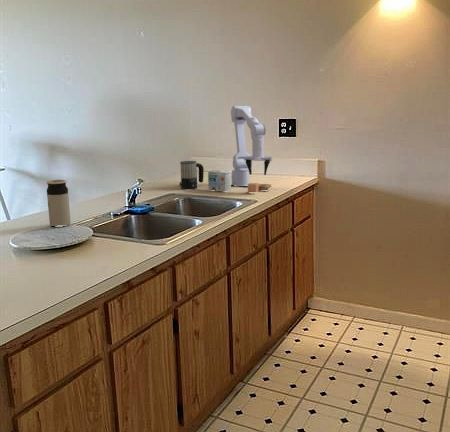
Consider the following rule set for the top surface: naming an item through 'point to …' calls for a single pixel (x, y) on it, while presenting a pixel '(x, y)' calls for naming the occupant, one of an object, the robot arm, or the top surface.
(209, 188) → the light bulb box
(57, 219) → the travel mug
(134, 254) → the top surface
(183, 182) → the milk frother
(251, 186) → the block
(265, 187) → the plinth
